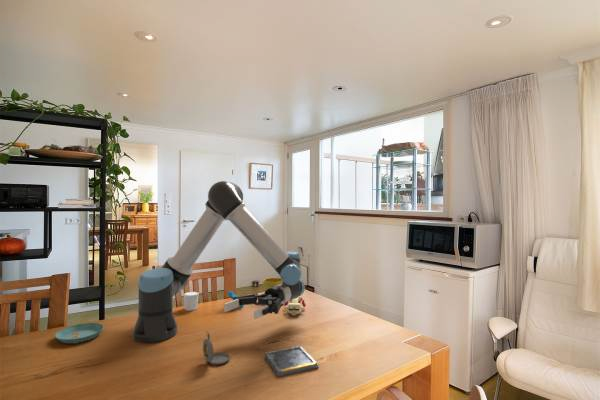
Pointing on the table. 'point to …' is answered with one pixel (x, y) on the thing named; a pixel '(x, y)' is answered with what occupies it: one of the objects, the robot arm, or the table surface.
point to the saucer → (85, 332)
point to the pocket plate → (290, 361)
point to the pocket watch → (209, 353)
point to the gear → (233, 296)
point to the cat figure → (295, 306)
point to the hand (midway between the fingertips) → (239, 311)
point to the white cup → (191, 300)
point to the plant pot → (271, 282)
